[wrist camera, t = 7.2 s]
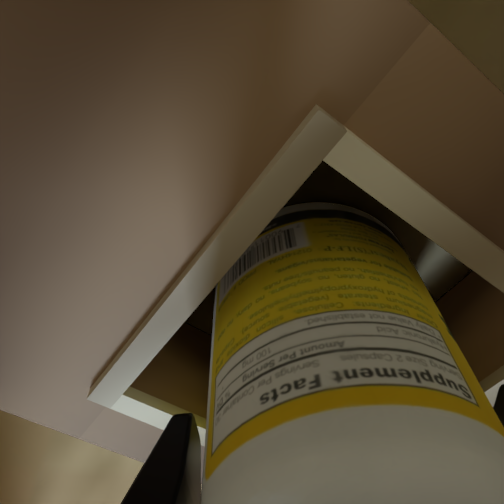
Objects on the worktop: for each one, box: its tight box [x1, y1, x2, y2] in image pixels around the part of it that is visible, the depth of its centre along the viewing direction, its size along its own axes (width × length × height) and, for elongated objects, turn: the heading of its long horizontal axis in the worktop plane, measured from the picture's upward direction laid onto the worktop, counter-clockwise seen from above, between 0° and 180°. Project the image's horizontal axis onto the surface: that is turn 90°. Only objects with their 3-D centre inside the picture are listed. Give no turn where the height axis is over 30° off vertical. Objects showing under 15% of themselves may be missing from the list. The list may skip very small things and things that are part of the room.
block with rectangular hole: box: [0, 0, 504, 484], centre depth 11 cm, size 20×12×3 cm, turn 54°
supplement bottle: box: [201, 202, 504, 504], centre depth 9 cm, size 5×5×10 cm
